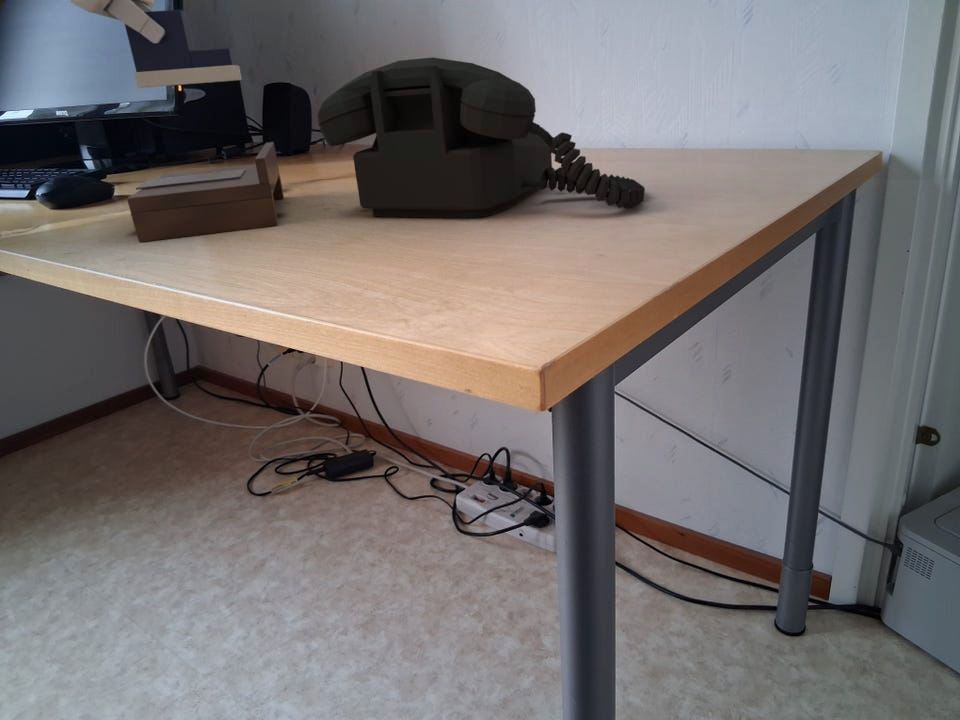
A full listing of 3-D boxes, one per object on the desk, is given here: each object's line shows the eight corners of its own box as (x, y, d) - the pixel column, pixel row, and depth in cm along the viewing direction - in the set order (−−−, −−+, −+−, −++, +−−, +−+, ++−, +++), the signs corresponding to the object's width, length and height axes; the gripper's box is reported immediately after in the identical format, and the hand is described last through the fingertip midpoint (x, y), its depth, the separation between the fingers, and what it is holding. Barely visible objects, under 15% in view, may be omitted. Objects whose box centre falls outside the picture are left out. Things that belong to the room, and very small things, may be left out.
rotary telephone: (672, 181, 79) (676, 36, 73) (626, 225, 61) (626, 38, 55) (417, 184, 93) (404, 62, 87) (320, 219, 75) (294, 69, 69)
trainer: (137, 87, 72) (119, 13, 69) (148, 87, 77) (131, 16, 74) (236, 80, 74) (222, 6, 71) (241, 79, 78) (228, 10, 76)
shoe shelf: (133, 243, 71) (114, 173, 69) (169, 210, 89) (155, 153, 87) (277, 225, 74) (264, 157, 71) (284, 196, 92) (273, 141, 89)
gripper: (58, -22, 78) (171, 65, 83) (-25, -53, 59) (127, 62, 65) (89, -70, 77) (201, 22, 82) (14, -117, 58) (165, 6, 64)
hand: (168, 40), depth 73 cm, fingers closed on trainer, 5 cm apart
